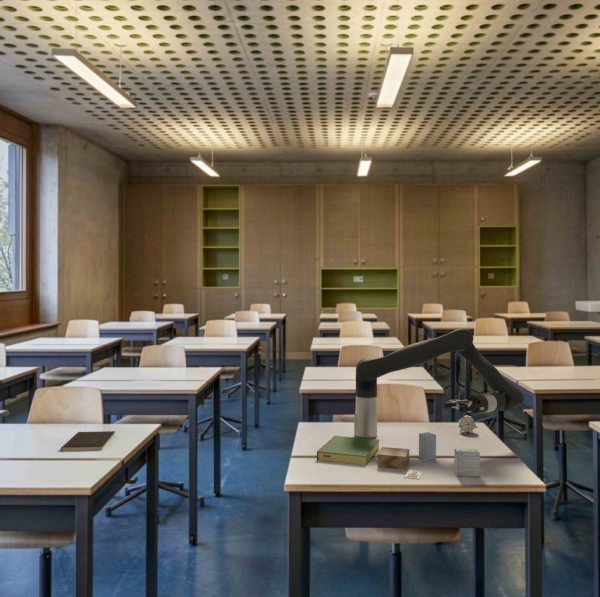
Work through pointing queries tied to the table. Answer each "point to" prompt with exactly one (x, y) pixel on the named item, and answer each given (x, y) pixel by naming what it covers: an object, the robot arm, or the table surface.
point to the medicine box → (467, 462)
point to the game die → (467, 423)
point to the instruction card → (413, 474)
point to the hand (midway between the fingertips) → (451, 407)
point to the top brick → (427, 446)
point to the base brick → (393, 458)
